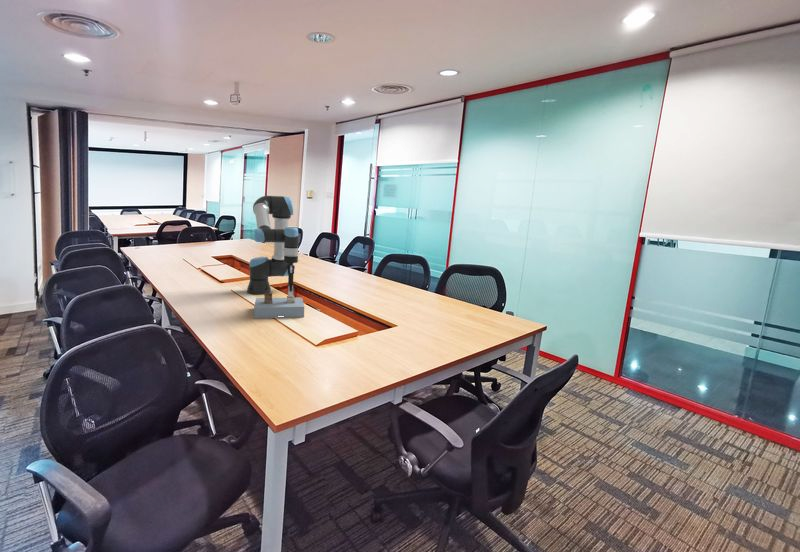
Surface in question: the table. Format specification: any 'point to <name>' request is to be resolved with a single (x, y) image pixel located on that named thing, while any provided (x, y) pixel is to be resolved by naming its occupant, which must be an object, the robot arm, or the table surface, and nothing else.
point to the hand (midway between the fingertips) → (290, 296)
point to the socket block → (278, 308)
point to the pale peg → (290, 299)
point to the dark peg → (268, 298)
